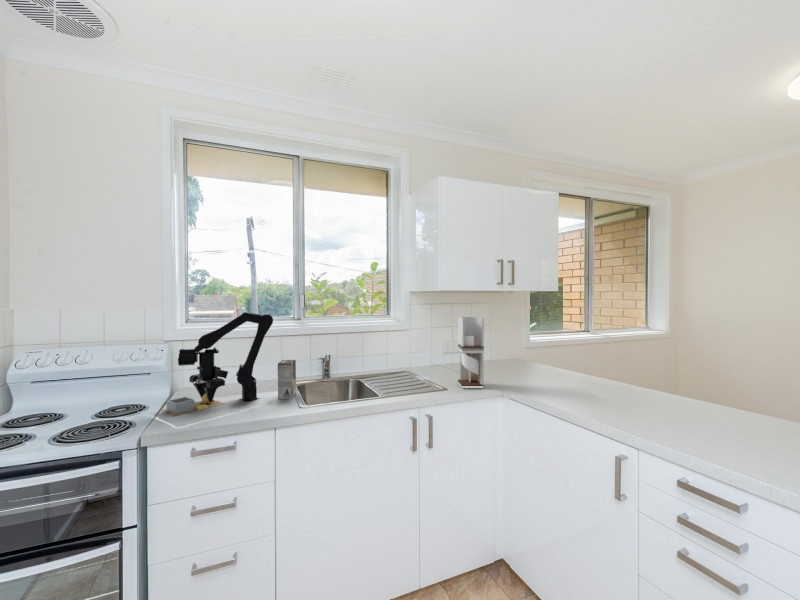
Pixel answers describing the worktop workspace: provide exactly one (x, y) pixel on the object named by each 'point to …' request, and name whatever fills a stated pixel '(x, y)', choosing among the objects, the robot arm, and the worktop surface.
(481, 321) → the display case
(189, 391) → the worktop surface
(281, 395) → the coffee box
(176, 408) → the grey open box
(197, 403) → the rack board
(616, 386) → the worktop surface
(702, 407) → the worktop surface
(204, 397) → the ball
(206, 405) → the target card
